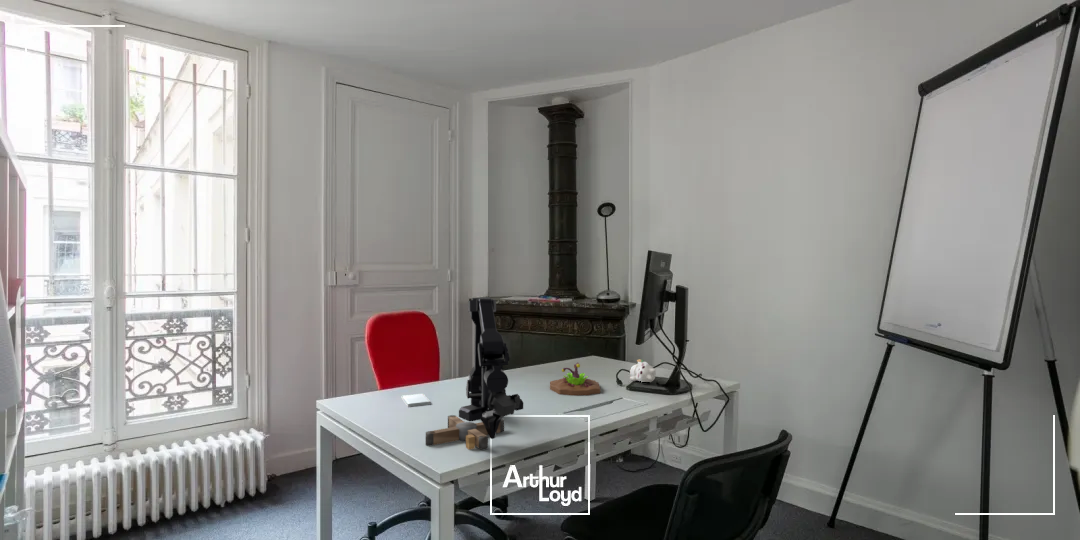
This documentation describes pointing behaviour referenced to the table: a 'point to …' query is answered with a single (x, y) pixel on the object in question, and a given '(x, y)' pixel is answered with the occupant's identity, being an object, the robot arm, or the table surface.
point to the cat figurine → (642, 372)
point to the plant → (575, 384)
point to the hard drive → (415, 400)
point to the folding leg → (479, 439)
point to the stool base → (458, 432)
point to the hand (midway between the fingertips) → (492, 438)
